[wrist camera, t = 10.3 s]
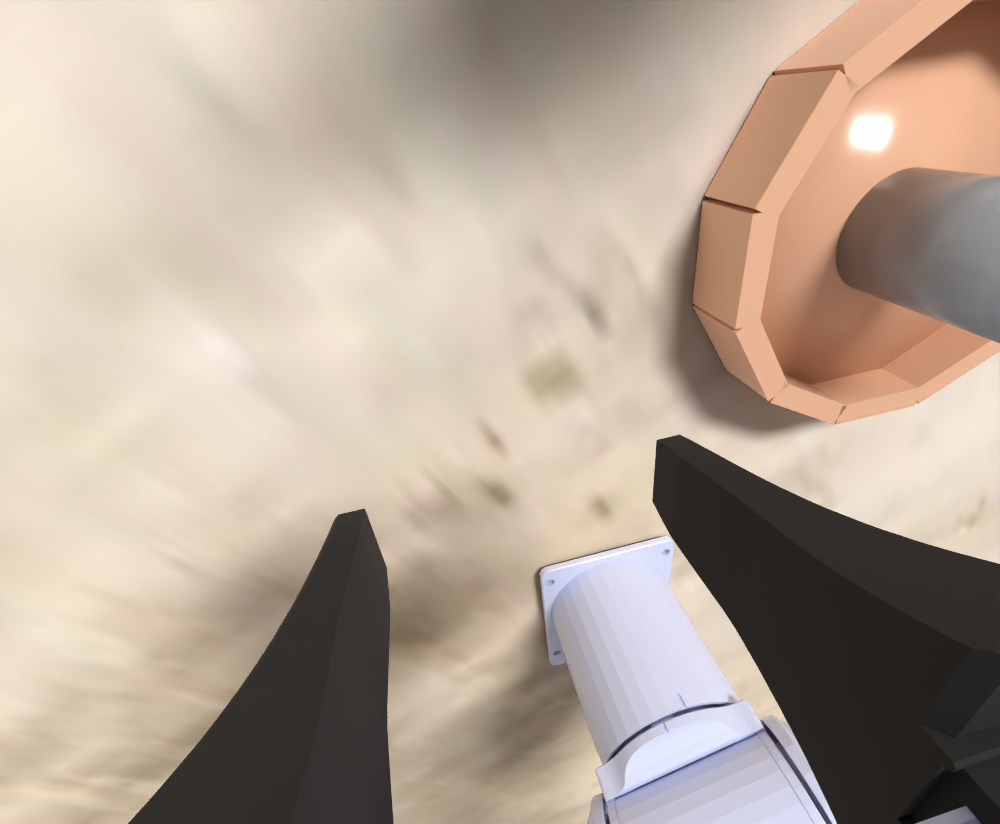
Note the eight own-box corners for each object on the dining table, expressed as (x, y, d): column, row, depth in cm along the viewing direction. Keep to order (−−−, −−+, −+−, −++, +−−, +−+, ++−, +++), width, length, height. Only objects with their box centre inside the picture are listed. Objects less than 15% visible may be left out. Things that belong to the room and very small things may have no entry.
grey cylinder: (928, 271, 21) (1096, 320, 16) (828, 304, 21) (967, 363, 16) (960, 151, 19) (1171, 166, 14) (845, 187, 19) (1018, 216, 14)
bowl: (960, 353, 26) (1023, 379, 23) (680, 417, 24) (715, 453, 22) (1139, -54, 17) (1268, -82, 15) (722, -1, 15) (789, -22, 13)
